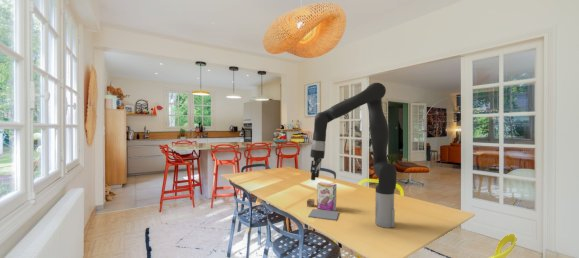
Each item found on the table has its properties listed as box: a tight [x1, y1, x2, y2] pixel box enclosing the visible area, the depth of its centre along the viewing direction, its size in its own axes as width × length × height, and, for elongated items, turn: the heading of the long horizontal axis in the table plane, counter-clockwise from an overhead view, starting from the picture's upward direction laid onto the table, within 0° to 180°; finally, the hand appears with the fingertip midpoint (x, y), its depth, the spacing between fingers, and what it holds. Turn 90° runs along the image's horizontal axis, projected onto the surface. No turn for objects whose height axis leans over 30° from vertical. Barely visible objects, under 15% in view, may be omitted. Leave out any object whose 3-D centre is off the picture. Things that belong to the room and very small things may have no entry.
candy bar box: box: [316, 181, 337, 211], centre depth 149 cm, size 11×5×16 cm, turn 58°
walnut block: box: [306, 198, 315, 208], centre depth 156 cm, size 4×4×4 cm
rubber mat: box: [308, 208, 340, 221], centre depth 140 cm, size 16×12×1 cm
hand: (314, 178), depth 129 cm, fingers open, 8 cm apart
